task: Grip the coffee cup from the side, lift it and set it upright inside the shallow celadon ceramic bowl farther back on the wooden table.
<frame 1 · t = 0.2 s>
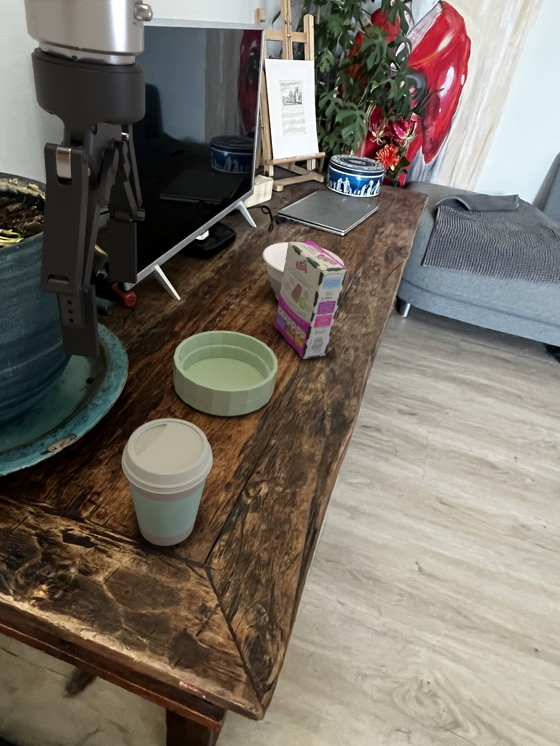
hand: (105, 313, 47), 21 cm above the table, tool pointing down, fingers open, 13 cm apart
bowl: (296, 298, 100), on the table
coffee cup: (166, 524, 54), on the table
candy bar box: (299, 341, 87), on the table
celadon bowl: (224, 385, 74), on the table
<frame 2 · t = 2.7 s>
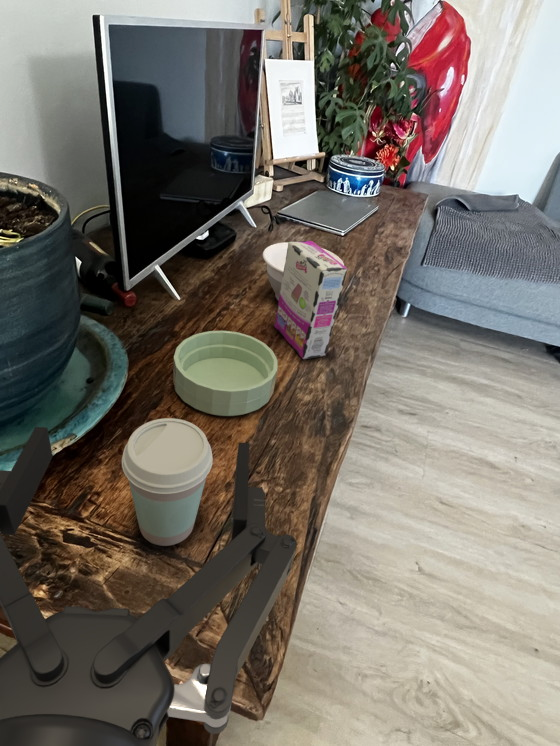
hand: (145, 448, 35), 20 cm above the table, tool horizontal, fingers open, 13 cm apart
nothing on the table moved.
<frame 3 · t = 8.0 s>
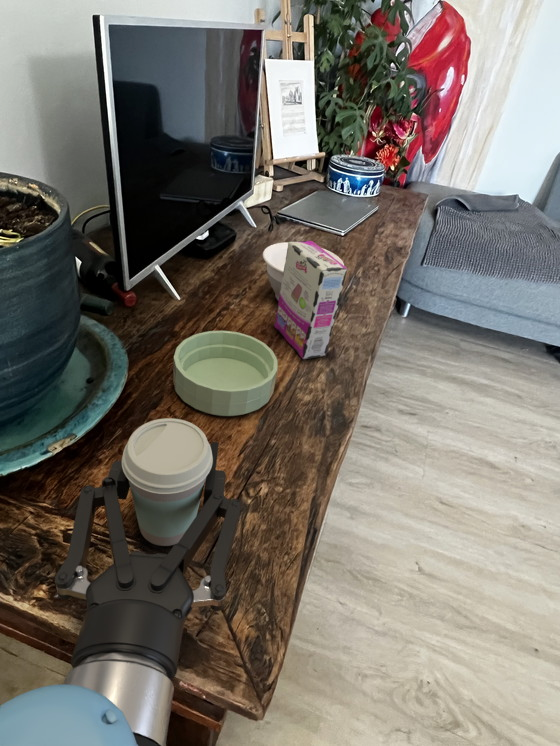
hand: (175, 447, 53), 7 cm above the table, tool horizontal, fingers closed on coffee cup, 8 cm apart
coffee cup: (166, 524, 54), on the table, touching gripper
everything else where it was.
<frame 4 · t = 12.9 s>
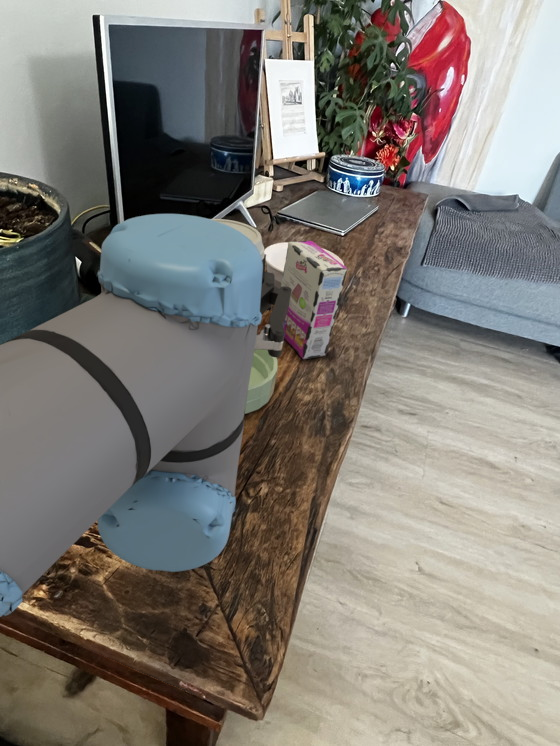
hand: (226, 259, 58), 22 cm above the table, tool horizontal, fingers closed on coffee cup, 8 cm apart
coffee cup: (217, 332, 58), point 15 cm above the table, touching gripper
everything else where it was.
when the fingers open (7 cm above the table, at t = 17.8 s): coffee cup stays where it is, resting on celadon bowl.
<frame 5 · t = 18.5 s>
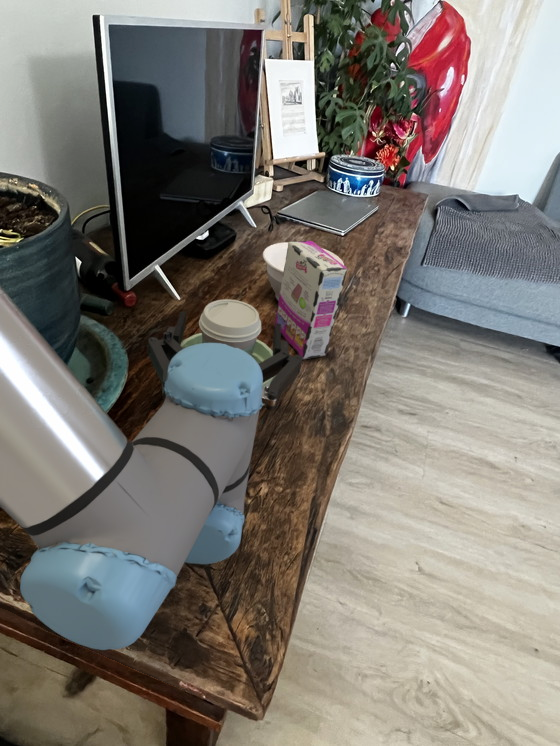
hand: (230, 325, 72), 9 cm above the table, tool horizontal, fingers open, 13 cm apart
coffee cup: (224, 383, 74), resting on celadon bowl
everything else where it was.
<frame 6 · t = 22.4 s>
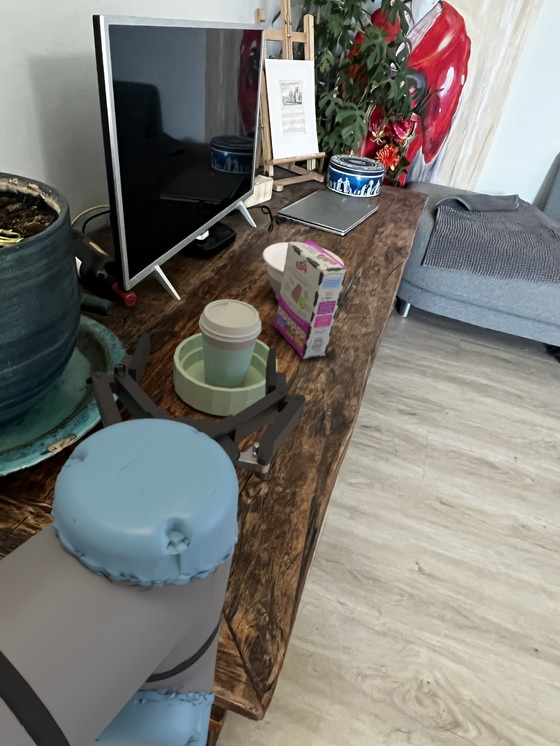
hand: (209, 350, 54), 15 cm above the table, tool horizontal, fingers open, 13 cm apart
nothing on the table moved.
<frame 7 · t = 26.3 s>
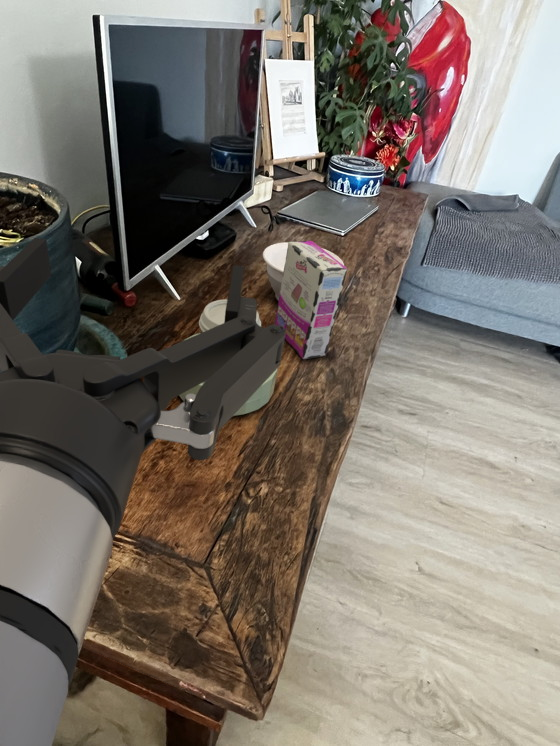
hand: (141, 269, 35), 30 cm above the table, tool horizontal, fingers open, 13 cm apart
nothing on the table moved.
at the end: coffee cup inside the target area in the celadon bowl (0.0 cm from its centre), point 0.4 cm above the celadon bowl's base; coffee cup tilted 0°; the gripper is holding nothing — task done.
